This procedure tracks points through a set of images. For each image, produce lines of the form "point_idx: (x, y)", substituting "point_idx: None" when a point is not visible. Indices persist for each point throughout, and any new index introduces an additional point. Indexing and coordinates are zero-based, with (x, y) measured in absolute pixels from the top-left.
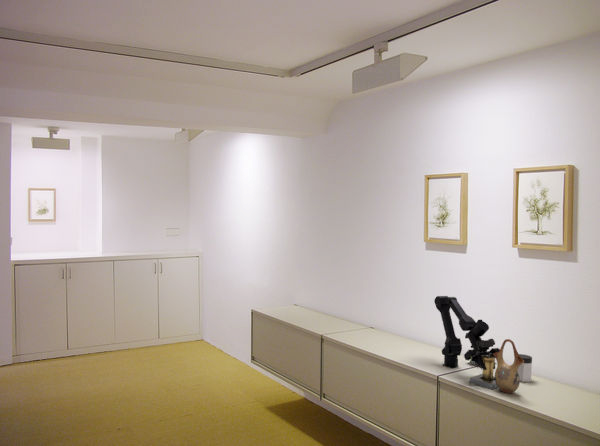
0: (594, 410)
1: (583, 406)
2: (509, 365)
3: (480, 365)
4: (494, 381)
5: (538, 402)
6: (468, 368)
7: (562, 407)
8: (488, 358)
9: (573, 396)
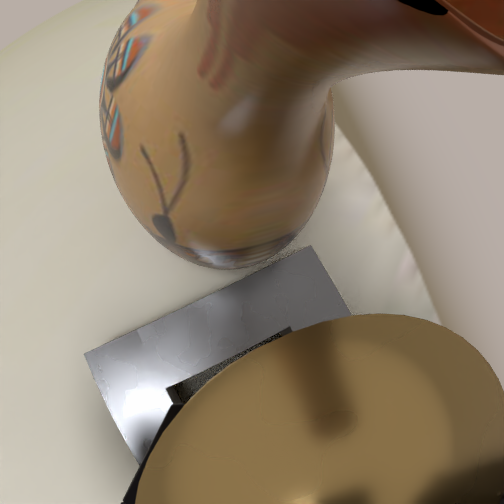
0: (38, 25)
1: (28, 43)
2: (177, 3)
3: None
4: (239, 322)
5: None
6: None
7: (107, 26)
8: (434, 419)
9: None
